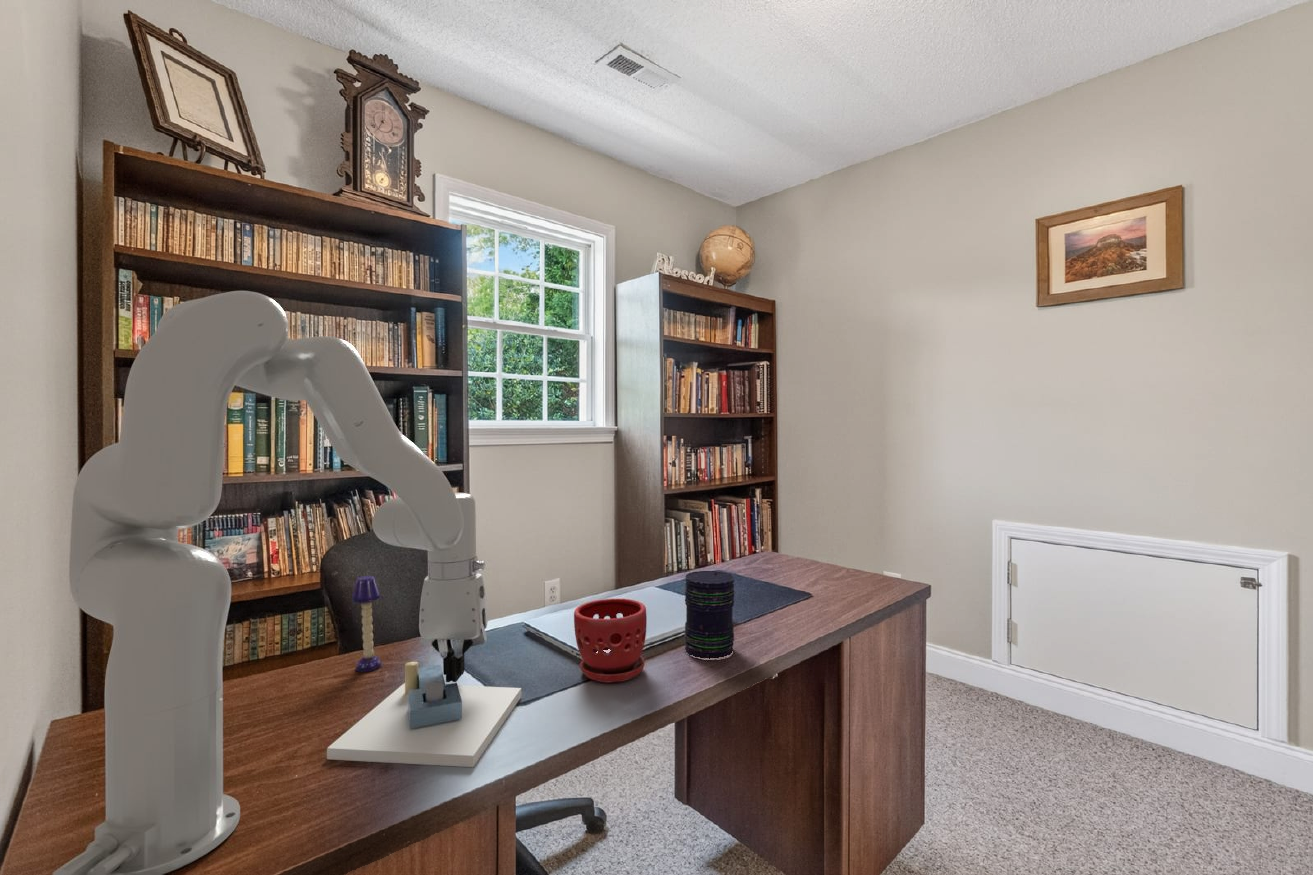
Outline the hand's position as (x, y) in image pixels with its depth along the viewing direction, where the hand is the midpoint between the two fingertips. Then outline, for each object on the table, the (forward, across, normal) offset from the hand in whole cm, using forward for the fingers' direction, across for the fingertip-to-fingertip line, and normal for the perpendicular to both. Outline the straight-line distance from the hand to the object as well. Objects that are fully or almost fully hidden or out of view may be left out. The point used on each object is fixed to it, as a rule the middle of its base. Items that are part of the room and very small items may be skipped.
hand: (454, 678), depth 96 cm
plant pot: (+3, -25, -9) cm, 27 cm away
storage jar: (+4, -44, -20) cm, 48 cm away
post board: (+3, -1, +10) cm, 10 cm away
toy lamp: (+3, +20, -11) cm, 23 cm away
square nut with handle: (+1, +1, +6) cm, 6 cm away
